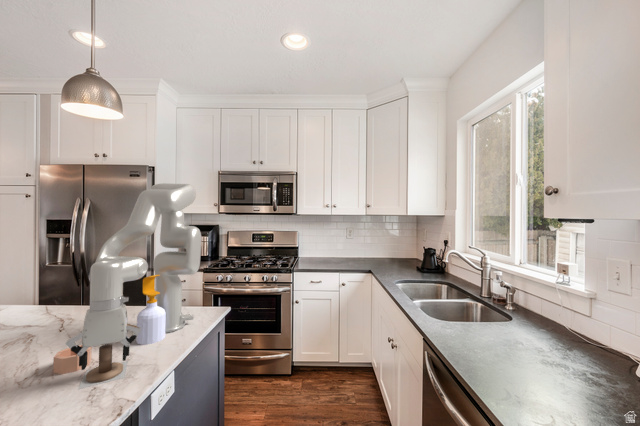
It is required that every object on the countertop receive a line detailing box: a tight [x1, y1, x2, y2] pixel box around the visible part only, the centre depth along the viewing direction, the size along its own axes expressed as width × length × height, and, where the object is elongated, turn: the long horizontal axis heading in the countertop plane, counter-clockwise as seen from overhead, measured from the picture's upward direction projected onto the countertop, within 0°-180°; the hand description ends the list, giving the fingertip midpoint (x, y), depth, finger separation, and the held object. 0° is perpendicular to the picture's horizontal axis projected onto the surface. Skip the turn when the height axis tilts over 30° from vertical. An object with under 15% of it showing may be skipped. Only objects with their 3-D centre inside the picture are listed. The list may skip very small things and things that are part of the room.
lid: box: [86, 343, 123, 383], centre depth 77 cm, size 8×8×8 cm
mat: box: [77, 360, 129, 390], centre depth 77 cm, size 10×10×1 cm
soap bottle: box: [136, 275, 166, 346], centre depth 99 cm, size 9×9×25 cm
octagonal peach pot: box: [52, 344, 93, 375], centre depth 81 cm, size 8×8×5 cm
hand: (105, 362), depth 77 cm, fingers open, 8 cm apart
